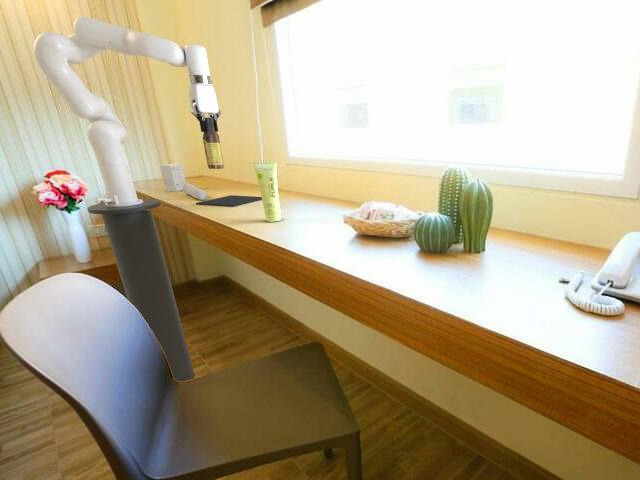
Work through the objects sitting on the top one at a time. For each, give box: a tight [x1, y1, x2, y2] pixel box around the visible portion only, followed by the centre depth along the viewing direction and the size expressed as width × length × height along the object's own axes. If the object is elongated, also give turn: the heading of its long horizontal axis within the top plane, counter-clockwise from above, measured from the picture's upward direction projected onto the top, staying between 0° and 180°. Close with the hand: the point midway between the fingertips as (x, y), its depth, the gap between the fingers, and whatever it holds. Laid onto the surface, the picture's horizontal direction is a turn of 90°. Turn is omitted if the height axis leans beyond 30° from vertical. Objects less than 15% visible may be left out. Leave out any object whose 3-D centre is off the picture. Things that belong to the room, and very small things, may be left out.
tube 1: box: [182, 183, 208, 201], centre depth 182 cm, size 5×5×25 cm
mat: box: [195, 194, 262, 208], centre depth 171 cm, size 20×20×1 cm
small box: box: [159, 163, 187, 193], centre depth 203 cm, size 8×6×13 cm
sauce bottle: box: [202, 116, 225, 170], centre depth 161 cm, size 6×6×20 cm
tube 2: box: [252, 160, 282, 223], centre depth 131 cm, size 6×5×20 cm
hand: (209, 131), depth 159 cm, fingers closed on sauce bottle, 4 cm apart
